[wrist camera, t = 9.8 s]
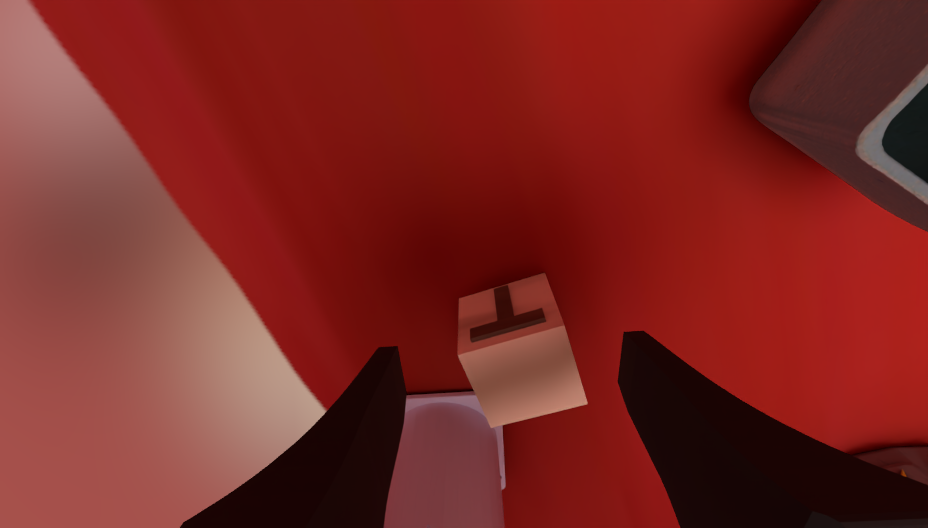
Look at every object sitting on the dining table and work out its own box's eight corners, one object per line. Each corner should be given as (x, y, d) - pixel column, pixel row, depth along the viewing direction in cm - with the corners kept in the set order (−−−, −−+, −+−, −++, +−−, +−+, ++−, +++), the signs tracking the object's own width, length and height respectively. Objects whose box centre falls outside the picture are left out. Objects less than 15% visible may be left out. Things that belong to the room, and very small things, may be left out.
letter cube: (565, 341, 24) (587, 403, 20) (486, 362, 25) (490, 427, 21) (543, 268, 22) (563, 320, 18) (457, 294, 23) (455, 351, 18)
